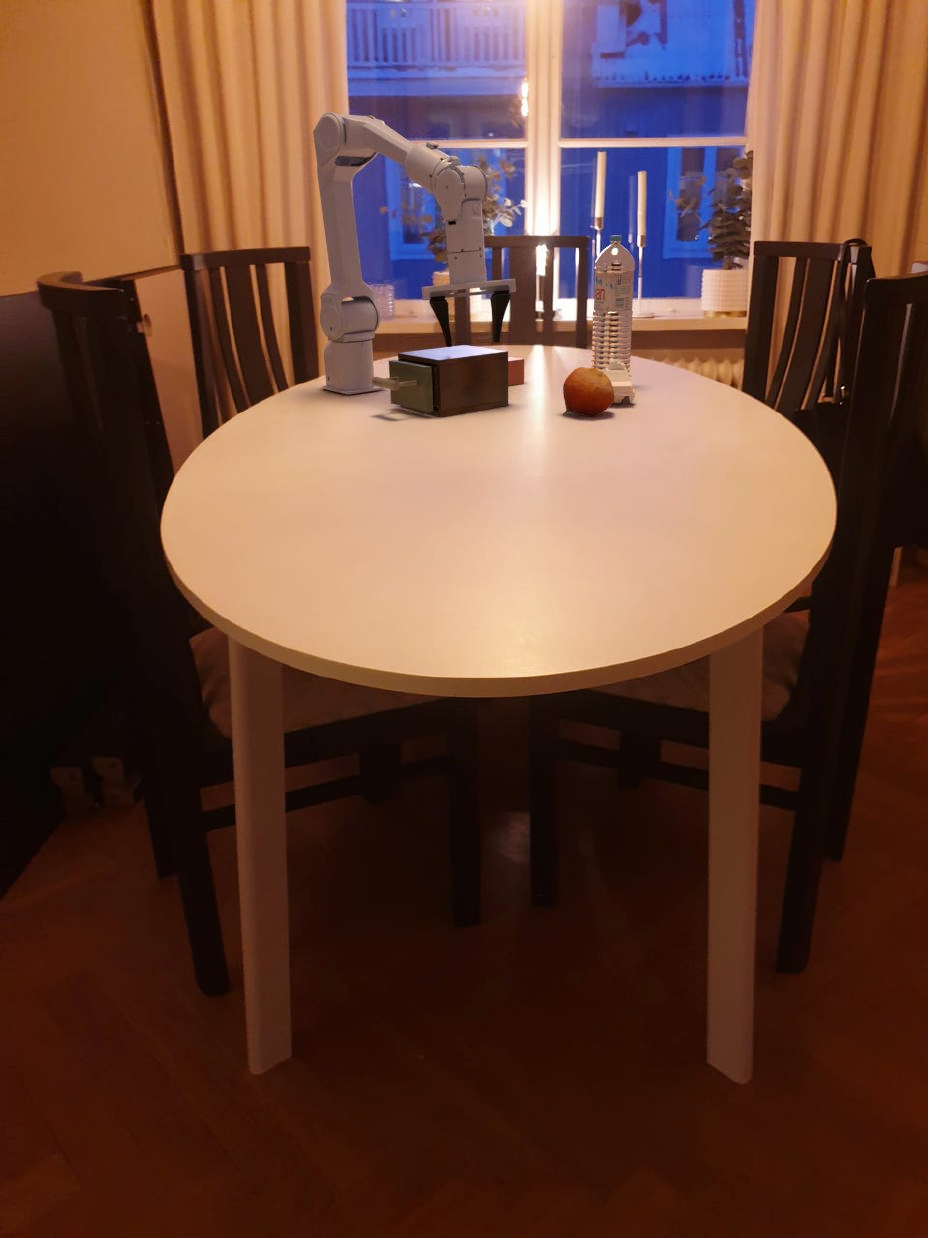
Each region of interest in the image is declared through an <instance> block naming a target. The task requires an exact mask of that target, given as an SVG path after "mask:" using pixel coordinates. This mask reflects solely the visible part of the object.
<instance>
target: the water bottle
mask: <svg viewBox="0 0 928 1238" xmlns="http://www.w3.org/2000/svg"><path fill="white" fill-rule="evenodd" d="M622 239H623V237H622V235H621V234H617V235H616V234H615V235H614V234H613V235H610V236H609V240H610V245H609V246H607V247H606V248H604V249H603V250H602V251H601V252H600V254H599V255H598V256H597V258H596V259H595V262H594V269H593V270H594V271H593V272H595V273H594V289H593V291H594V292H593V311H592V330H591V331H592V333H591V337H592V338H591V348H592V349H591V362H590V363H591V366H590V368H595V369H597V370H598V371H600V372H602V373H604V371H605V368H607V366H608V365H609V361H610V360H613V361H614V359H617V361H618V360H619V361H620V362H621V361H622V363H624V364H625V367H626V369H627V371H628V375H631V373H630V372H631V370H630V369H631V356H632V355H631V353H632V336H633V335H632V331H633V327H632V326H633V314H634V310H633V301H634V280H635V271H636V261H635V259H634V257H633V255H632V254H631V252H630V251H629V250H628V249H627V248H625V247H624V246H623V245H621V242H622Z"/></svg>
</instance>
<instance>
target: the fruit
mask: <svg viewBox="0 0 928 1238" xmlns="http://www.w3.org/2000/svg"><path fill="white" fill-rule="evenodd" d="M562 393H563V400H564V405H565V411H564V412H563V413H562V416H564V415H566V414H568V413H574V414H577V415H580V416H586V417H592V418H594V417H597V416H599V415H601V414H602V413H604V412H605V411H608V409H610V407H611V406H612V404H614V403H613V401H614V391H613V387H612V383H611V381H610V379H609V378H608V377H607V376H606V375H605V374H604V373H602V372H600V371H598V370H597V369H595V368H591V367H584V366H580V367H577V368H575V369H573V370H572V371H571V372H570V374H569V375H568V376H567V377H566V378H565V380H564V382H563V385H562Z"/></svg>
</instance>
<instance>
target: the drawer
mask: <svg viewBox="0 0 928 1238" xmlns="http://www.w3.org/2000/svg"><path fill="white" fill-rule="evenodd" d="M388 373H389V377H386V378H385V377H384V378H383V377H380V376H374V378H373V379H372V384H373V385H374V386H378V387H382V388H384V389H388V390H389V391H390V404H392V405H396V406H399V407H401V406H404V407H408V408H412V409H416V410H420V411H424V412H433V407H437V408H438V387H437V365H435V364H429V363H423V362H418V361H412V360H405V361H398V359H389V360H388ZM404 407H403V408H404ZM408 408H407V409H408ZM412 409H411V410H412ZM416 410H415V411H416ZM420 411H419V412H420ZM424 412H423V413H424Z"/></svg>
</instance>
